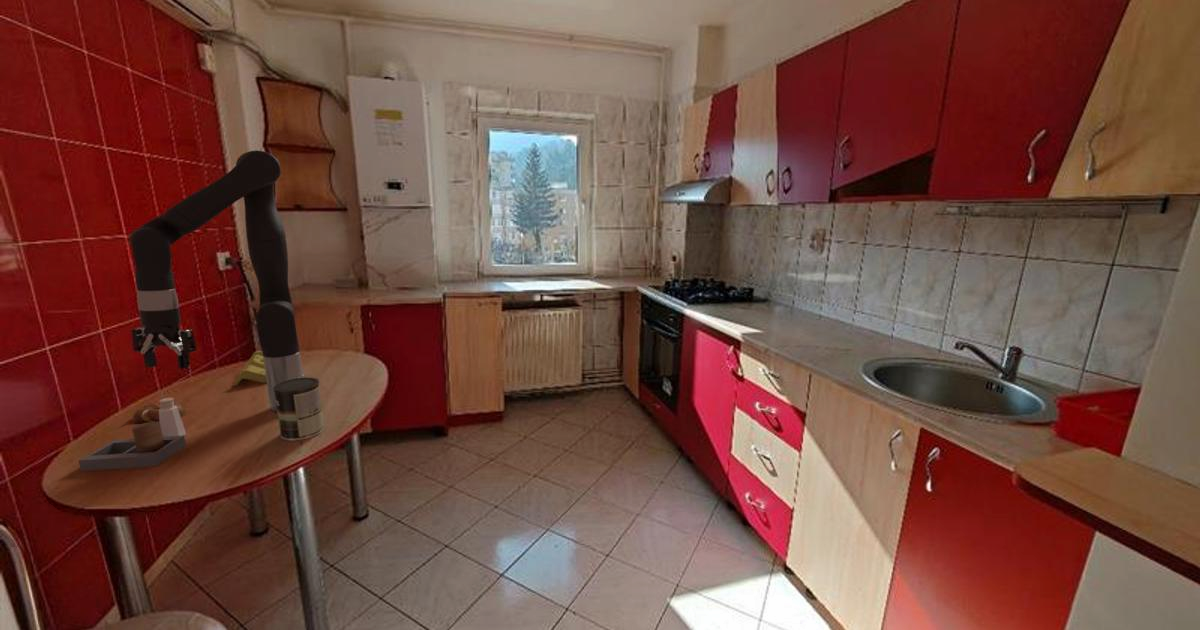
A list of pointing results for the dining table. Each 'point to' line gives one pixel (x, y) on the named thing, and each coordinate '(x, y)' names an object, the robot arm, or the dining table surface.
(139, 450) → the fitted dowel
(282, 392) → the coffee can
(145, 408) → the bread roll
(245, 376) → the plastic component
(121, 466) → the grey rectangular open block
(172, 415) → the salt shaker
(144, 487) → the dining table surface
